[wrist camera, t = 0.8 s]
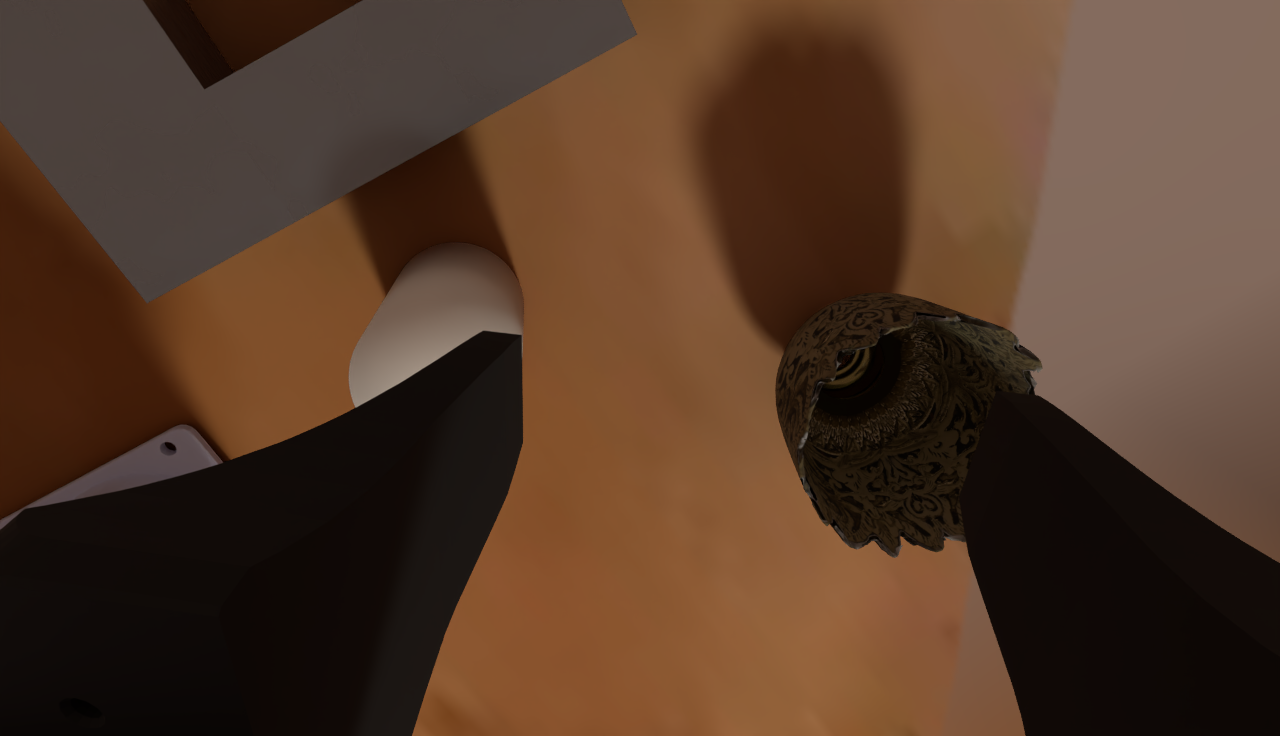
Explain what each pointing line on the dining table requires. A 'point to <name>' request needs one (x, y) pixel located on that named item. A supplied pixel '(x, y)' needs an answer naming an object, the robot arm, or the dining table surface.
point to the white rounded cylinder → (434, 314)
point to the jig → (259, 110)
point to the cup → (893, 413)
